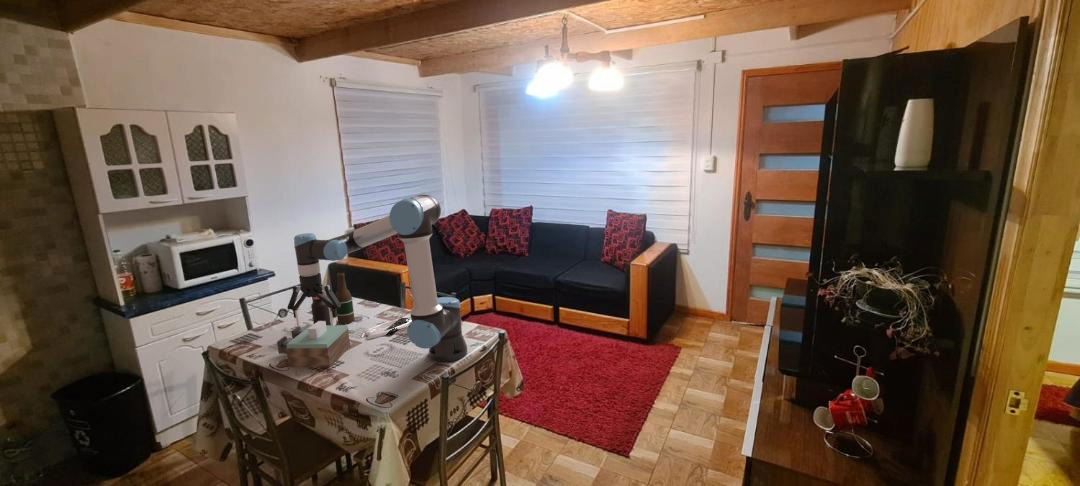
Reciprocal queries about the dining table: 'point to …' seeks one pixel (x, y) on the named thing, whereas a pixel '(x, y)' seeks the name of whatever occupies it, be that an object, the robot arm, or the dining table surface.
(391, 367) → the dining table surface
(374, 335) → the door handle
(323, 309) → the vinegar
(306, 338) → the door
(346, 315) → the beer bottle
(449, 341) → the robot arm
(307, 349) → the cabinet
